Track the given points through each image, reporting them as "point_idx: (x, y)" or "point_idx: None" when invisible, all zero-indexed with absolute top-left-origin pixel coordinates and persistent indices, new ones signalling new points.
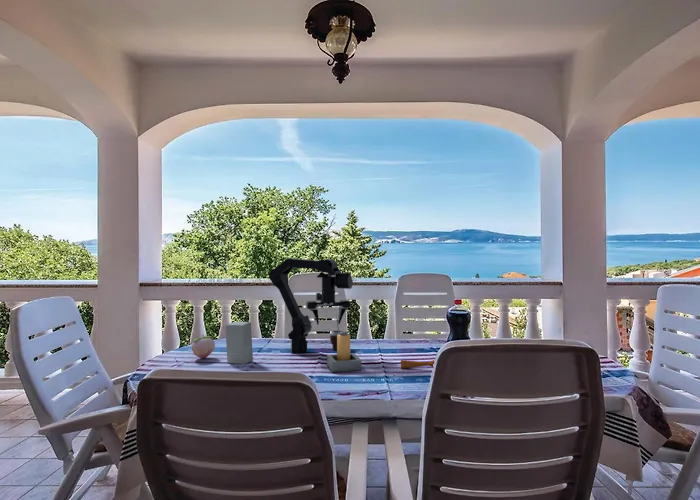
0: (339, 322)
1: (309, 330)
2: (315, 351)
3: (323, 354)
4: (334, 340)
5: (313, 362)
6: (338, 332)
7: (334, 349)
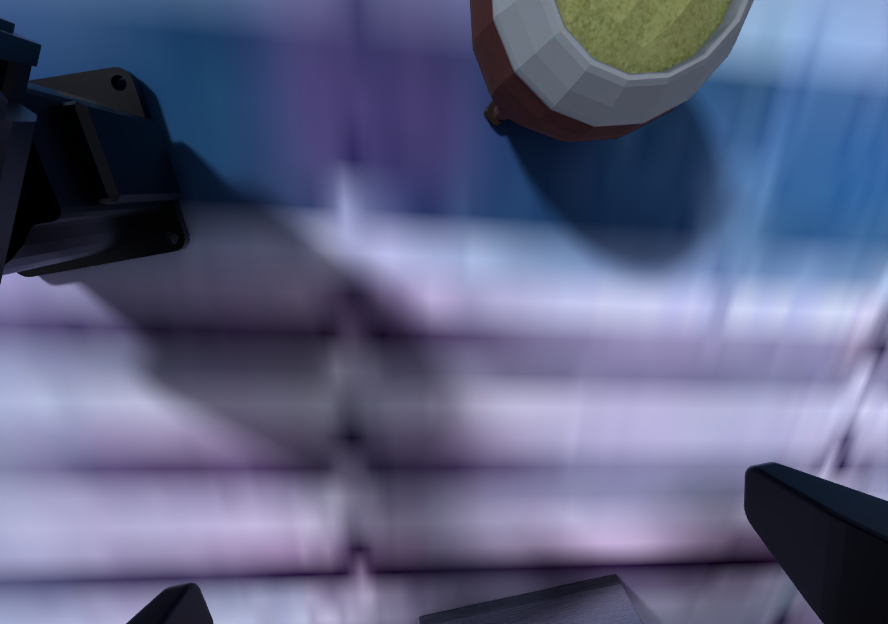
0: (796, 559)
1: (15, 190)
2: (284, 165)
3: (381, 304)
4: (529, 125)
5: (311, 555)
6: (652, 5)
7: (501, 122)
